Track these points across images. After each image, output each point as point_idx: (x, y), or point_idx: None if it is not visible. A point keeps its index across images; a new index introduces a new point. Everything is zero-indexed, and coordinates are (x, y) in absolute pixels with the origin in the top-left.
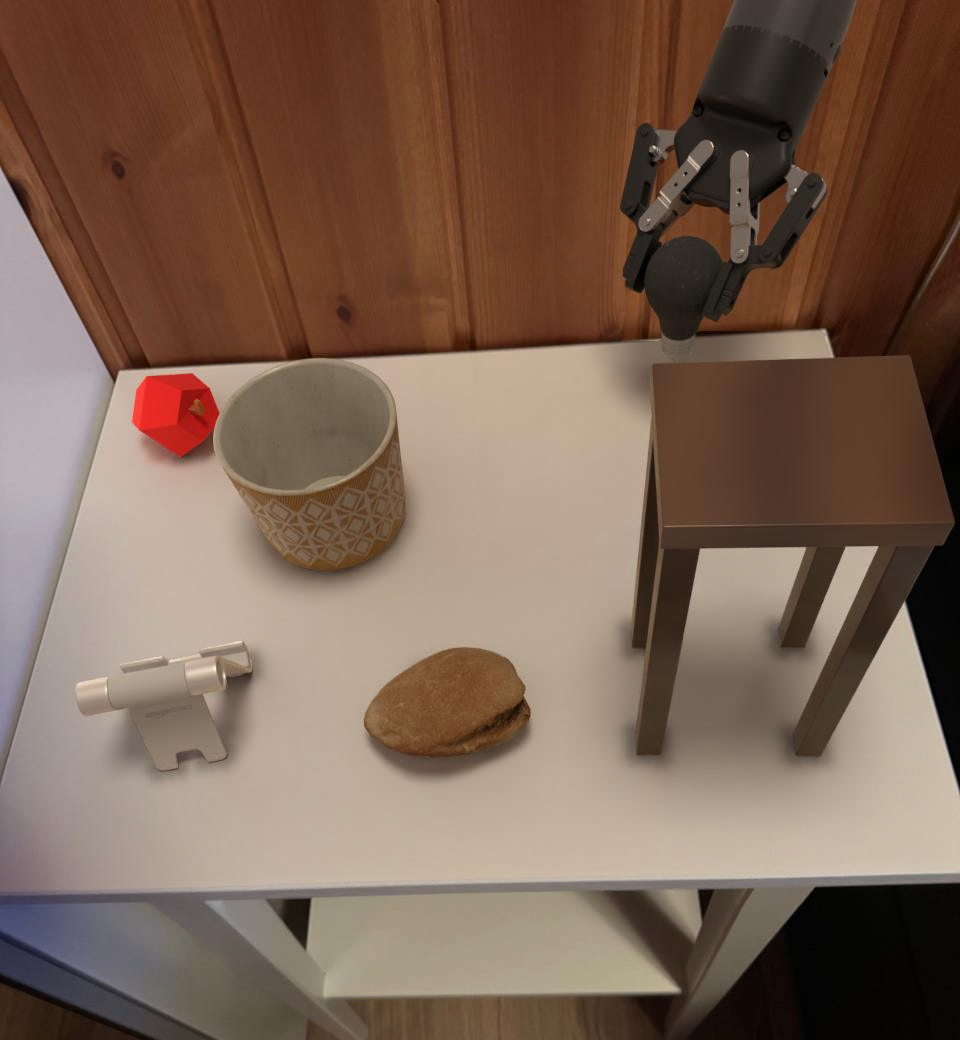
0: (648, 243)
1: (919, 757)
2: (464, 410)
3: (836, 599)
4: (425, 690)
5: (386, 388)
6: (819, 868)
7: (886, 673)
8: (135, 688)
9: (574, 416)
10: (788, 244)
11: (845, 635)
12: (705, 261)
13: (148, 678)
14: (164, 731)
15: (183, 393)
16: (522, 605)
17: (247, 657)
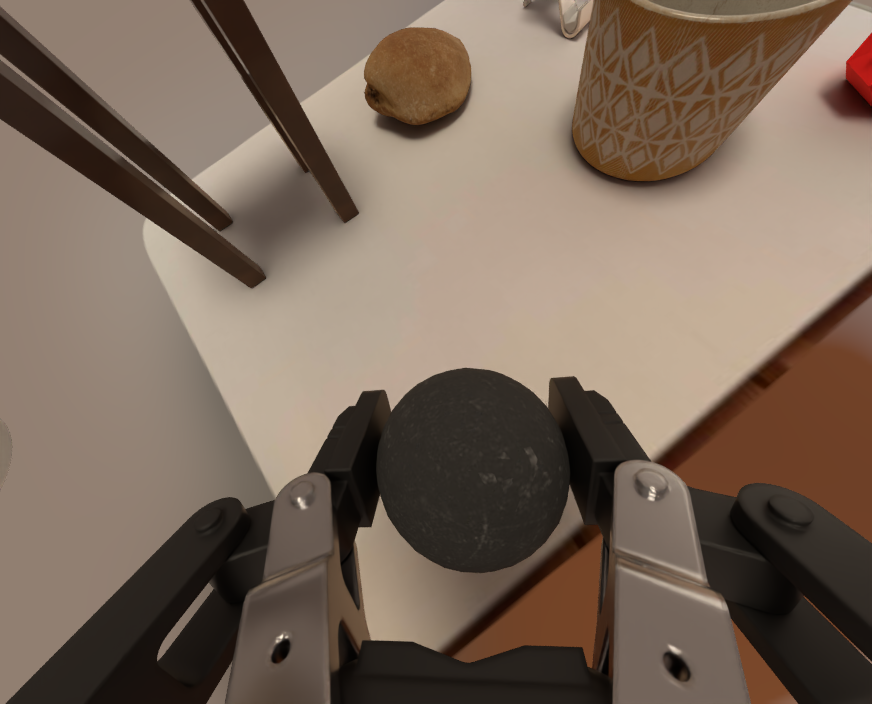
0: (589, 445)
1: (162, 257)
2: (663, 293)
3: (236, 326)
4: (422, 34)
5: (707, 15)
6: (199, 174)
7: (190, 294)
8: None
9: (551, 360)
10: (192, 631)
11: (40, 46)
12: (397, 449)
13: None
14: None
15: None
16: (440, 178)
17: (570, 23)
